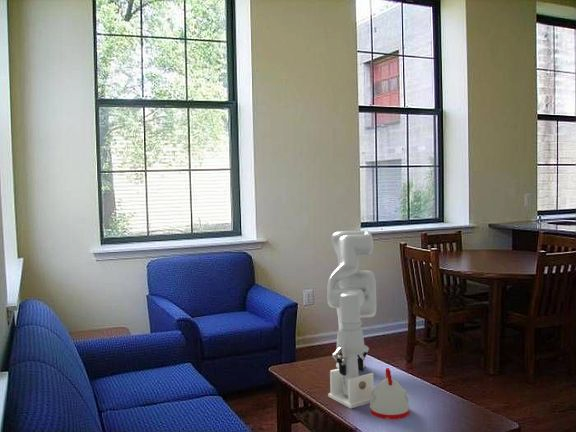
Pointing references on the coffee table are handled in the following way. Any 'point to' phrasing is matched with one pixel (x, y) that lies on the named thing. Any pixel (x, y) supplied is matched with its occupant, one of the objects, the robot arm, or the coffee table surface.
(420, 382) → the coffee table surface
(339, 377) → the holder
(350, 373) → the travel mug
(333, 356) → the robot arm
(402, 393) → the kitchen timer
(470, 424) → the coffee table surface
